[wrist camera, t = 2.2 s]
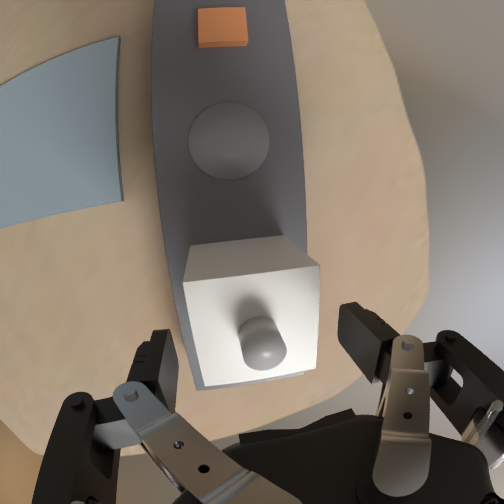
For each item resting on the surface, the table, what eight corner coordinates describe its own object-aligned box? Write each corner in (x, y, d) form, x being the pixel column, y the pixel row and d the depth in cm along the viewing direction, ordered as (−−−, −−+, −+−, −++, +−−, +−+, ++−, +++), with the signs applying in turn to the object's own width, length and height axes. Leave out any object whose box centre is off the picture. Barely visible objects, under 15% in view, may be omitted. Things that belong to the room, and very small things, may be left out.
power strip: (161, 21, 15) (153, -9, 10) (270, 16, 16) (285, -14, 12) (196, 361, 23) (196, 397, 19) (291, 347, 25) (308, 379, 20)
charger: (192, 238, 18) (179, 299, 9) (275, 229, 19) (335, 278, 10) (203, 314, 20) (206, 409, 11) (279, 303, 21) (326, 387, 12)
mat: (-2, 90, 13) (-5, 89, 12) (120, 39, 15) (118, 36, 14) (1, 227, 17) (-3, 229, 16) (123, 200, 19) (121, 201, 18)
